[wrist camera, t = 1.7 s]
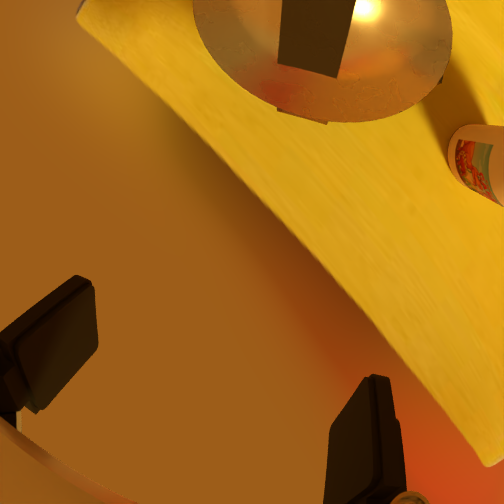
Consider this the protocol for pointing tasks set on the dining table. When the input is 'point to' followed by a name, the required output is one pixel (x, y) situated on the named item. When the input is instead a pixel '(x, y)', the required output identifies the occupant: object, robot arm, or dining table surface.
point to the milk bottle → (479, 159)
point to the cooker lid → (330, 53)
